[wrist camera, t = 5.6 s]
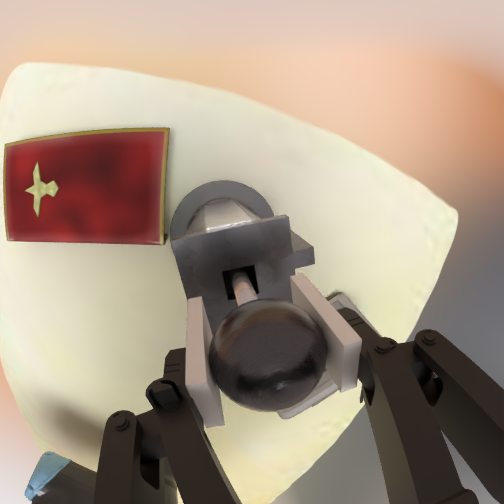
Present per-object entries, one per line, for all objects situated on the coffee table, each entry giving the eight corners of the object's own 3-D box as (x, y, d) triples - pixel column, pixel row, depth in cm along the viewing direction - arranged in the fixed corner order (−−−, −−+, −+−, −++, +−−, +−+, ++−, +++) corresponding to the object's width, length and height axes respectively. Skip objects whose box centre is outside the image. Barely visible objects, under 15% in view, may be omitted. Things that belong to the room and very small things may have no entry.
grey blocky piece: (195, 277, 31) (195, 344, 19) (178, 206, 28) (163, 236, 16) (280, 259, 32) (326, 312, 20) (271, 188, 30) (318, 205, 18)
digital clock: (344, 285, 37) (387, 324, 27) (356, 330, 40) (392, 370, 30) (239, 338, 36) (254, 394, 26) (264, 377, 39) (282, 430, 29)
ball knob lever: (207, 273, 27) (230, 443, 9) (196, 225, 26) (196, 364, 8) (256, 262, 28) (343, 412, 10) (248, 214, 26) (350, 324, 8)
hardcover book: (167, 238, 31) (163, 248, 27) (23, 235, 26) (6, 244, 22) (173, 132, 27) (168, 127, 23) (21, 144, 23) (3, 144, 19)
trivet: (184, 291, 32) (184, 294, 32) (160, 193, 28) (159, 194, 28) (280, 270, 34) (282, 272, 33) (266, 172, 30) (268, 172, 29)
